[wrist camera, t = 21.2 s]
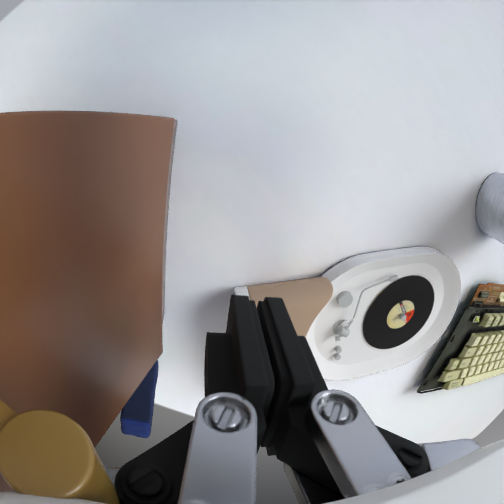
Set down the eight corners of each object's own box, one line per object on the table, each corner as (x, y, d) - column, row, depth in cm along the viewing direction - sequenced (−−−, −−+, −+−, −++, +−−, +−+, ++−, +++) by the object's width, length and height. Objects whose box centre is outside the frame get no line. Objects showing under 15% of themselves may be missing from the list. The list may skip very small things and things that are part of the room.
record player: (236, 290, 18) (484, 252, 20) (231, 266, 20) (461, 239, 22) (248, 413, 22) (449, 360, 24) (244, 386, 25) (433, 342, 27)
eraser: (134, 352, 22) (118, 418, 16) (161, 358, 23) (151, 426, 17) (132, 370, 23) (118, 434, 17) (157, 375, 24) (149, 441, 17)
